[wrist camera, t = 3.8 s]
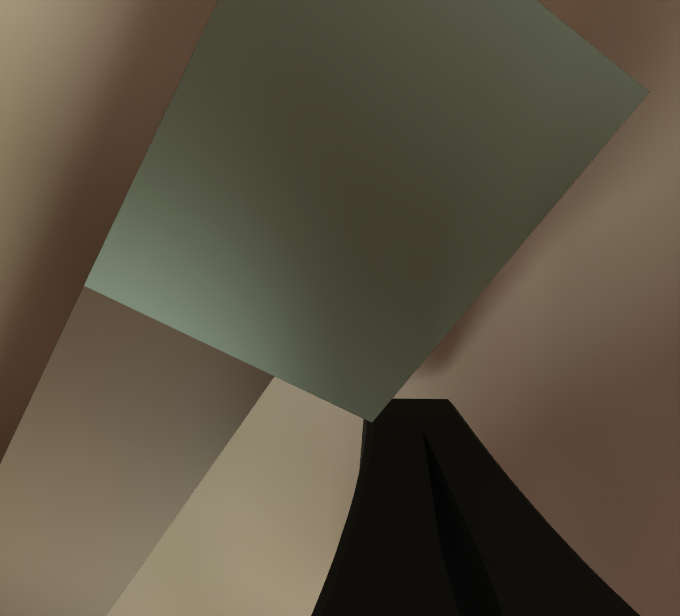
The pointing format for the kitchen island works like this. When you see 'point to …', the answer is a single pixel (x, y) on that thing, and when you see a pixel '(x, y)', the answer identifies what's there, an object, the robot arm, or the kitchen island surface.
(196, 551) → the kitchen island surface
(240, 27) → the bar
